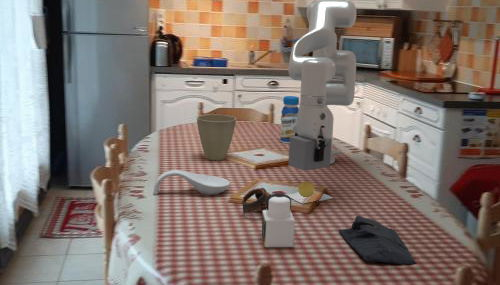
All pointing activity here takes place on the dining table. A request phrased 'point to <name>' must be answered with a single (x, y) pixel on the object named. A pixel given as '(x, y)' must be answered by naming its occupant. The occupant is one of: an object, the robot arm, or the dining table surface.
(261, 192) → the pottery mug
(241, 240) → the dining table surface
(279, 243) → the medicine bottle
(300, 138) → the plain gray box
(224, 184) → the spoon rest
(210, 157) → the plant pot
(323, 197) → the pale gray panel
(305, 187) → the ball
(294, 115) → the beverage bottle
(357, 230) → the dark gray folded cloth
